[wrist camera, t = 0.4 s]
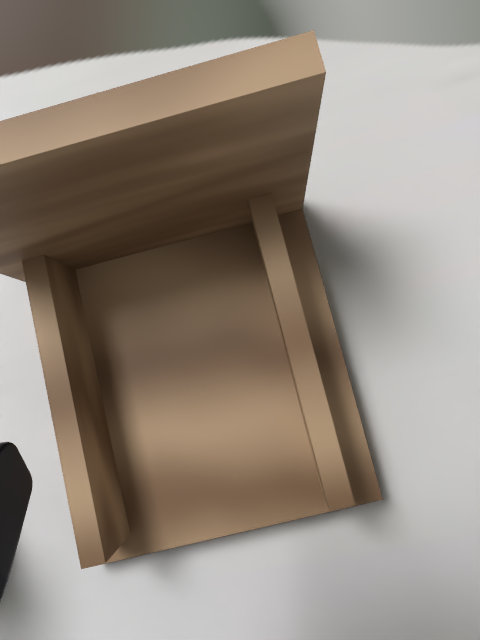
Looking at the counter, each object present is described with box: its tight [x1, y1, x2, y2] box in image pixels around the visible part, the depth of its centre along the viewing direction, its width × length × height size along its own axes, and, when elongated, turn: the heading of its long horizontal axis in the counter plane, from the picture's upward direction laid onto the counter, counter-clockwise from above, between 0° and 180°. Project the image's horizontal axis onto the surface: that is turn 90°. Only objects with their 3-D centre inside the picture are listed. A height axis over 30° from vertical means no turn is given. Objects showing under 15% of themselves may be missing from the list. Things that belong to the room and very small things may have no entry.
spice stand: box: [0, 31, 383, 569], centre depth 17 cm, size 15×14×12 cm
